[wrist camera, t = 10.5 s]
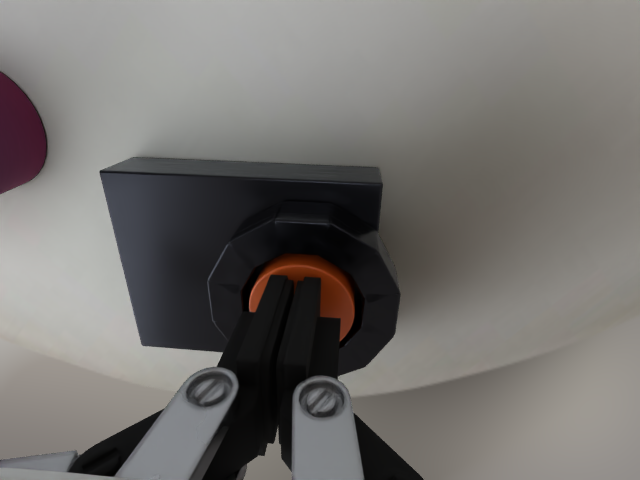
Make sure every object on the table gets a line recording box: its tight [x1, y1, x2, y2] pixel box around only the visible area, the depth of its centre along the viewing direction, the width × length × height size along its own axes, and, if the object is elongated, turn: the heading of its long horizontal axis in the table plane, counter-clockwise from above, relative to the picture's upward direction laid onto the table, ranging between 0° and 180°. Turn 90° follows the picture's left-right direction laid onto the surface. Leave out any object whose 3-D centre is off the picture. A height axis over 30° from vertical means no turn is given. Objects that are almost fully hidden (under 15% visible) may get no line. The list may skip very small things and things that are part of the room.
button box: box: [100, 157, 401, 376], centre depth 14 cm, size 11×8×4 cm
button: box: [249, 253, 355, 341], centre depth 13 cm, size 4×4×2 cm
